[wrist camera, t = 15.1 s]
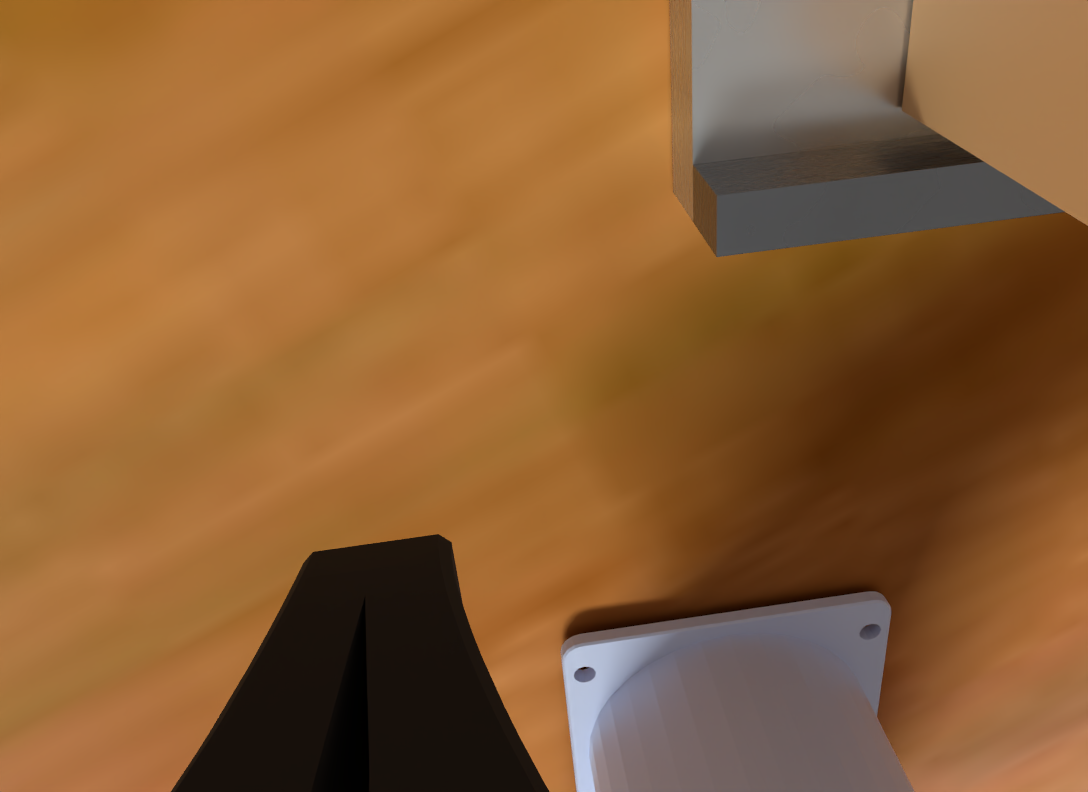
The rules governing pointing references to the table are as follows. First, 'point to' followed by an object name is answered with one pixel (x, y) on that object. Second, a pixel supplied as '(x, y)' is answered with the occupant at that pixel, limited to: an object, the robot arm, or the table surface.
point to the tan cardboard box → (1007, 88)
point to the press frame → (813, 129)
